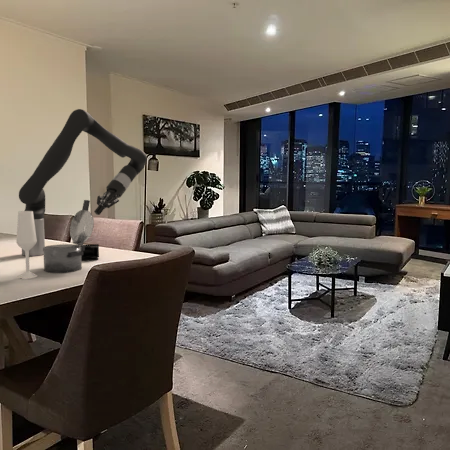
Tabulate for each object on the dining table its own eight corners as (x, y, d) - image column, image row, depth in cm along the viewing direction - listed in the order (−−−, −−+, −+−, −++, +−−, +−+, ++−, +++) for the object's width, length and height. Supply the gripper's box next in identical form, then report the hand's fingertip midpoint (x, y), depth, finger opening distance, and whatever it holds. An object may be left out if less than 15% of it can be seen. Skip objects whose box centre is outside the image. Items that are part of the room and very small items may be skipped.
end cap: (98, 257, 187) (98, 243, 187) (99, 260, 181) (99, 245, 180) (75, 258, 184) (75, 244, 183) (76, 261, 177) (75, 246, 176)
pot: (68, 262, 174) (67, 242, 173) (96, 268, 162) (96, 246, 161) (33, 268, 161) (32, 246, 160) (61, 275, 150) (60, 251, 149)
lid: (66, 242, 169) (69, 242, 170) (86, 245, 161) (89, 246, 162) (75, 199, 171) (78, 200, 172) (96, 200, 163) (98, 201, 164)
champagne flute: (30, 273, 152) (28, 210, 150) (41, 276, 149) (39, 211, 146) (13, 277, 146) (11, 211, 144) (24, 279, 143) (22, 212, 141)
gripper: (104, 178, 182) (81, 206, 174) (124, 179, 175) (101, 208, 166) (114, 190, 187) (92, 218, 178) (133, 191, 180) (111, 220, 171)
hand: (96, 213), depth 172 cm, fingers closed
